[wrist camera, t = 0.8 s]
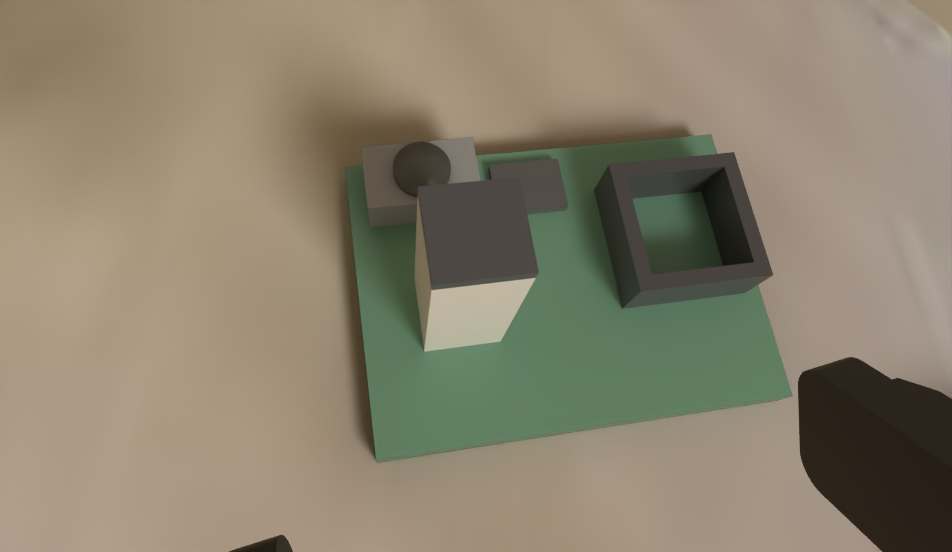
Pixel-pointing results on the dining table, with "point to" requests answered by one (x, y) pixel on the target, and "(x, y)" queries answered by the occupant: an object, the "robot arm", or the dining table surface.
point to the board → (570, 295)
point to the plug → (471, 261)
